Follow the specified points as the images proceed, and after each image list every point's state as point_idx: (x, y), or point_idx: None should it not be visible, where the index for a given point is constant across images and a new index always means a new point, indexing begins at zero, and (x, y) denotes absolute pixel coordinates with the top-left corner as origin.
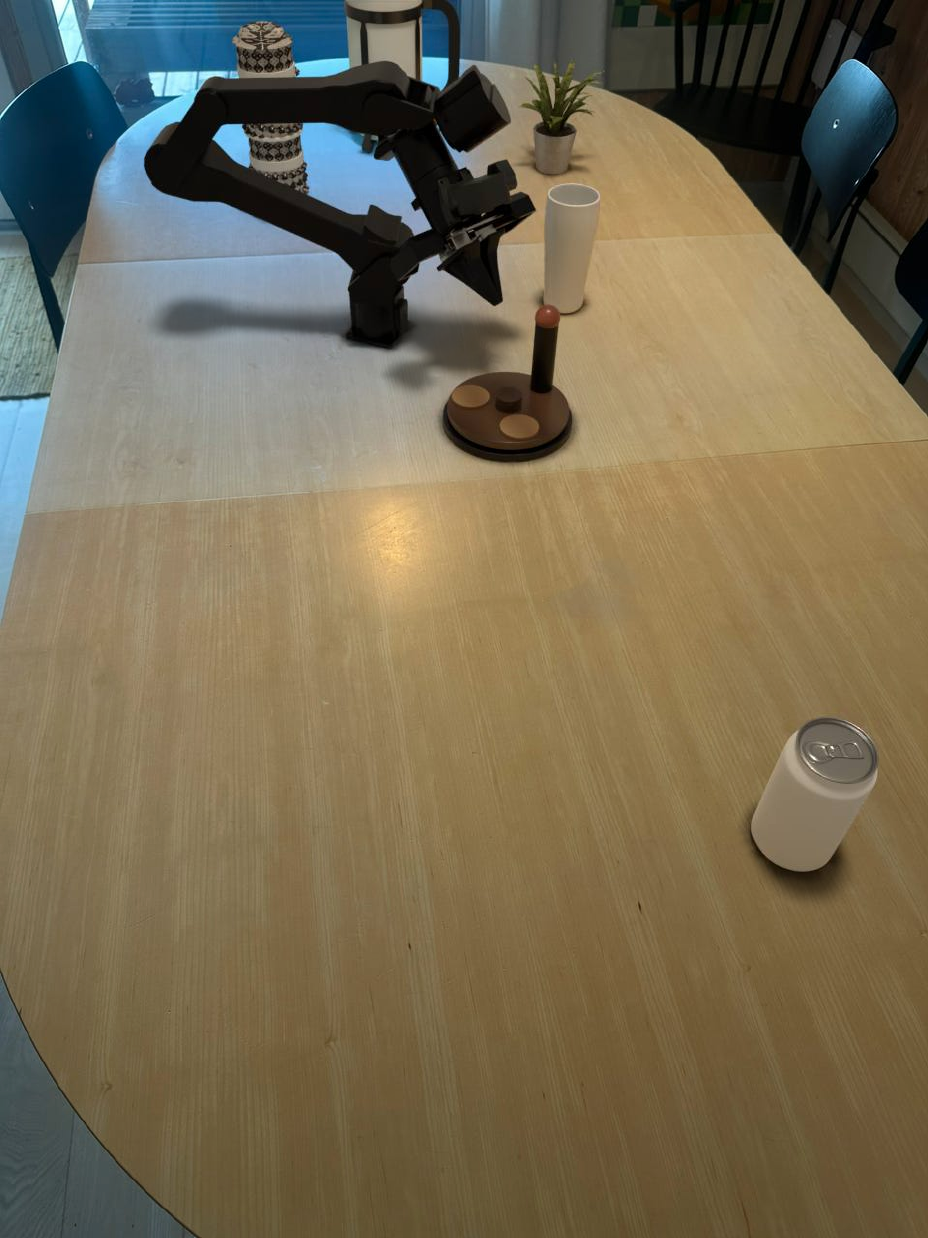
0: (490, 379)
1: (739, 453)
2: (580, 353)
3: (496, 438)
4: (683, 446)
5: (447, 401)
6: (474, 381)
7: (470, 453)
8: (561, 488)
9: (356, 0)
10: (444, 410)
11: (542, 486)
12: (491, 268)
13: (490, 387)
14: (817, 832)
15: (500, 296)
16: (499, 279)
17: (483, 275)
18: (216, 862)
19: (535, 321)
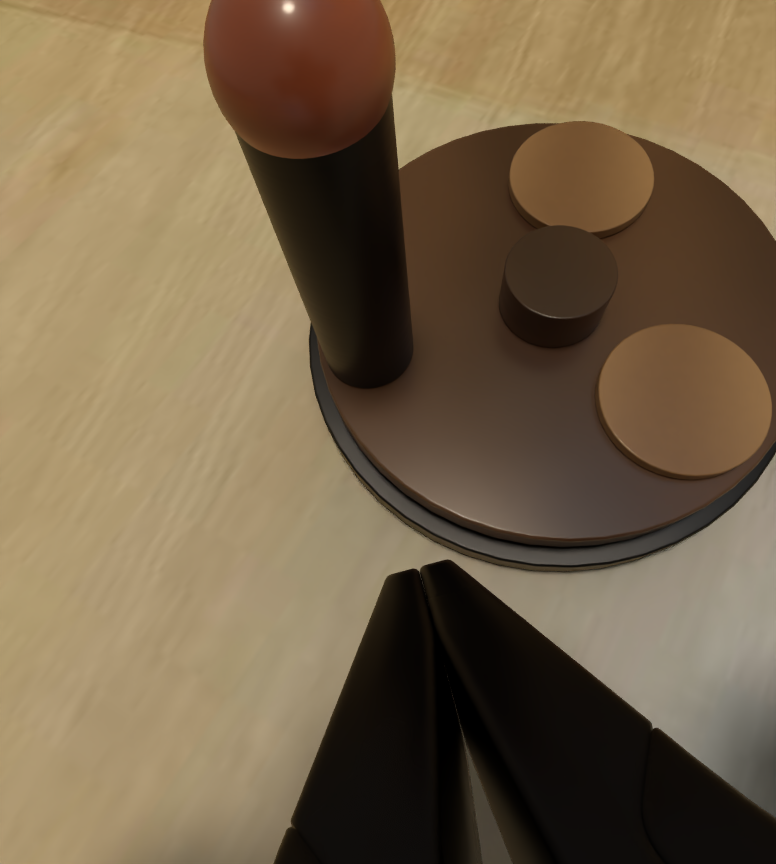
0: (533, 486)
1: (63, 21)
2: (30, 595)
3: (679, 170)
4: (151, 78)
5: (738, 499)
6: (610, 503)
7: None
8: (539, 57)
9: None
10: (773, 447)
11: (583, 77)
12: (427, 852)
13: (562, 432)
14: None
15: (406, 589)
16: (341, 714)
17: (630, 751)
18: None
19: (390, 97)
